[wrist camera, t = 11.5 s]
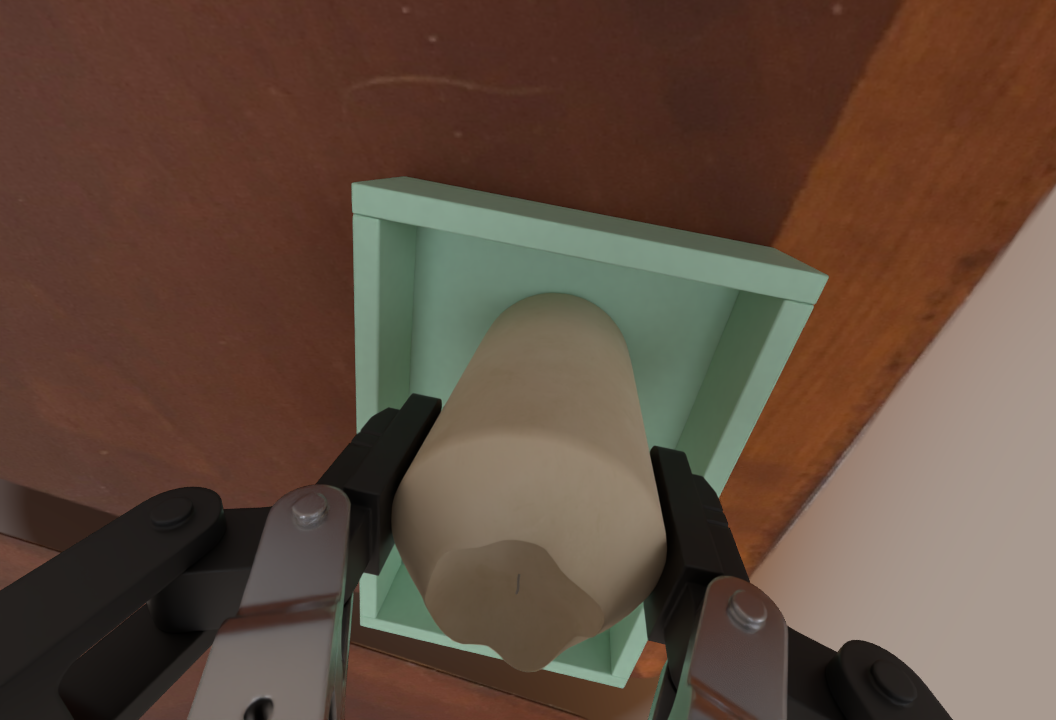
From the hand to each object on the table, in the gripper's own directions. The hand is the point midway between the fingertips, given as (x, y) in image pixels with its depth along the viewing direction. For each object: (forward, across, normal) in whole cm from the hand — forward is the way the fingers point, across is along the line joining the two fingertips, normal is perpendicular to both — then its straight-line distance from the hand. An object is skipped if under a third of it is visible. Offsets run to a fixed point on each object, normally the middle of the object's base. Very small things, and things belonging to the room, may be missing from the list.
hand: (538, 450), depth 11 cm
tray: (+6, 0, +4) cm, 8 cm away
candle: (+6, 0, 0) cm, 6 cm away
